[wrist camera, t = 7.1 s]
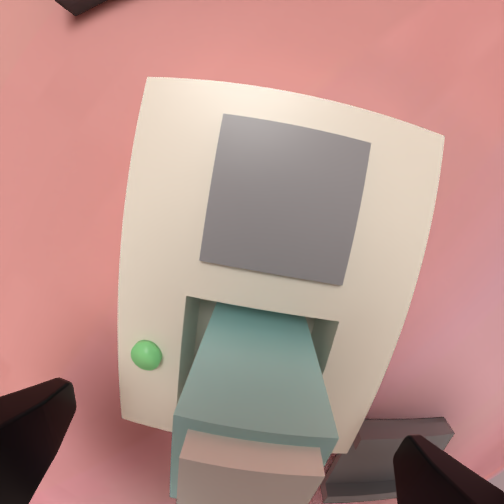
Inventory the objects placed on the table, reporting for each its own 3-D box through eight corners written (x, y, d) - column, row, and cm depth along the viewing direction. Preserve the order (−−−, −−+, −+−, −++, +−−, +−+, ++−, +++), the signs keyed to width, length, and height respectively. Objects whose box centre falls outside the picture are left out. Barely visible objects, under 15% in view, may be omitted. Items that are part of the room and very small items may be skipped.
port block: (400, 146, 11) (449, 135, 8) (333, 403, 14) (348, 458, 10) (177, 103, 11) (143, 74, 8) (148, 373, 14) (119, 422, 10)
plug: (302, 305, 12) (345, 467, 4) (284, 373, 13) (296, 538, 5) (221, 290, 12) (163, 443, 4) (209, 360, 13) (162, 519, 5)
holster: (443, 416, 14) (454, 433, 12) (402, 480, 15) (408, 496, 14) (354, 419, 14) (361, 439, 12) (320, 484, 15) (323, 503, 14)
